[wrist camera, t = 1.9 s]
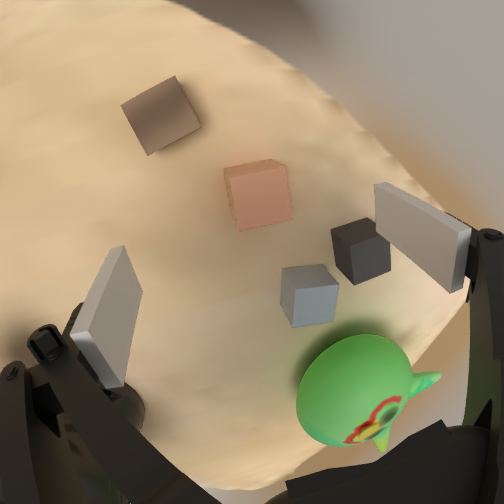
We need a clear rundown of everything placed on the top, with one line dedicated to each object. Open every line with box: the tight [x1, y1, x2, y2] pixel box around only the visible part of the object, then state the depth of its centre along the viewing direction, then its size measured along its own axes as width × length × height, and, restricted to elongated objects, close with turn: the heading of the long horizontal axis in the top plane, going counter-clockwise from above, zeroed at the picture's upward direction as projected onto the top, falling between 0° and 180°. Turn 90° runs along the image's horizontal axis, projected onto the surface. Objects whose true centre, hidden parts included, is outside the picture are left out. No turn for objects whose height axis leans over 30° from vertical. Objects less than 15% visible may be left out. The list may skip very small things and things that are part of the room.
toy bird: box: [296, 334, 442, 452], centre depth 39 cm, size 18×17×15 cm
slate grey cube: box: [280, 264, 339, 328], centre depth 36 cm, size 5×5×5 cm
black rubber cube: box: [331, 218, 391, 285], centre depth 35 cm, size 5×5×5 cm
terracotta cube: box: [223, 159, 292, 231], centre depth 30 cm, size 5×5×5 cm
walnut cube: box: [121, 76, 201, 156], centre depth 25 cm, size 5×5×5 cm
